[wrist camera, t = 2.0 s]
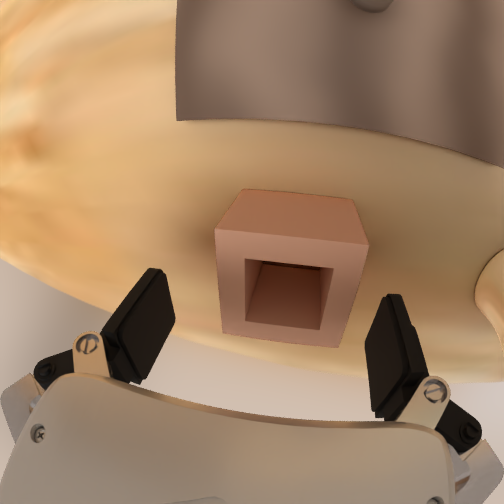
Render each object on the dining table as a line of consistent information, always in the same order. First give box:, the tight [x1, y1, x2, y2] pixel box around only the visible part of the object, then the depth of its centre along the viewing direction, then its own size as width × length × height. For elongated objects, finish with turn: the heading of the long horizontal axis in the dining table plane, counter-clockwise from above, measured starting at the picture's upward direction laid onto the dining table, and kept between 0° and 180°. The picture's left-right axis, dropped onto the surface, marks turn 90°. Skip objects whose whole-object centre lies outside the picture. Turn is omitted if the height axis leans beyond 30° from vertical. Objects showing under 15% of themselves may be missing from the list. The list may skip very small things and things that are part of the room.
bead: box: [214, 189, 369, 348], centre depth 14 cm, size 6×6×5 cm
